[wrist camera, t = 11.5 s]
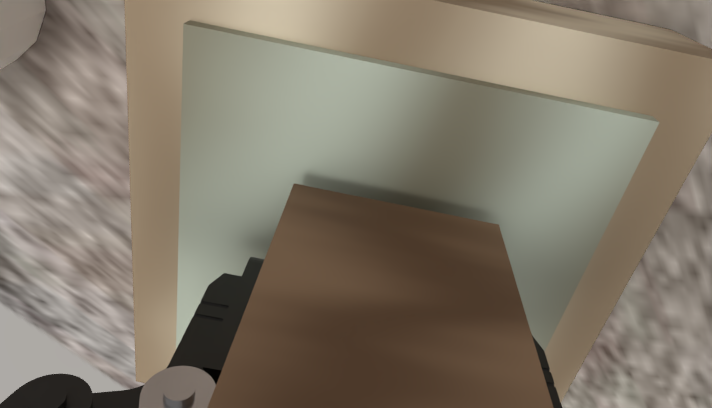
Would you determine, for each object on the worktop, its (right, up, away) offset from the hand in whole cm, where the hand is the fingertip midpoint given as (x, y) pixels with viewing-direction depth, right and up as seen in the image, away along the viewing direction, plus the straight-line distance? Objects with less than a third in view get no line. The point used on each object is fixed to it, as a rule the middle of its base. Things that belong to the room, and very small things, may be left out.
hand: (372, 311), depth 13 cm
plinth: (+1, +3, +5) cm, 6 cm away
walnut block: (0, +1, +1) cm, 1 cm away
